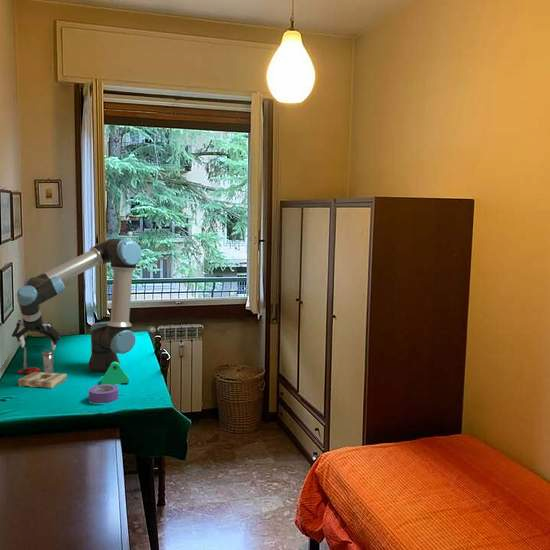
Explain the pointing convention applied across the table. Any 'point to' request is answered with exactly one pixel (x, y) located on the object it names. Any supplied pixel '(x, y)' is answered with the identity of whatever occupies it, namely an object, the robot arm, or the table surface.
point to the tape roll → (103, 393)
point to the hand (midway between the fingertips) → (38, 346)
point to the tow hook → (25, 369)
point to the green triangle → (115, 375)
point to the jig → (42, 379)
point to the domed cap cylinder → (48, 361)
